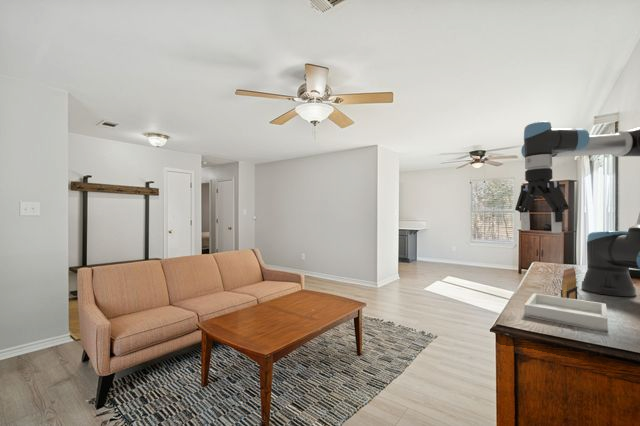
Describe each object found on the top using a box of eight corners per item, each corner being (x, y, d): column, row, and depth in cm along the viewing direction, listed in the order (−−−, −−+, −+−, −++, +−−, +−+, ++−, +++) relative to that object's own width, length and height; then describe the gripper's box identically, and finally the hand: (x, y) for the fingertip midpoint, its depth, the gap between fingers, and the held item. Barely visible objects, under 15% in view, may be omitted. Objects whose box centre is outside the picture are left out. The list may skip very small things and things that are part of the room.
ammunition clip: (567, 306, 100) (567, 270, 100) (560, 305, 102) (560, 269, 102) (577, 301, 107) (577, 267, 107) (570, 300, 108) (570, 266, 108)
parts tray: (533, 303, 104) (533, 293, 104) (605, 315, 91) (605, 303, 91) (524, 316, 90) (524, 304, 90) (607, 332, 78) (607, 318, 78)
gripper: (503, 174, 115) (505, 229, 115) (558, 162, 90) (560, 234, 90) (522, 173, 115) (524, 229, 115) (582, 162, 91) (584, 233, 90)
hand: (540, 231), depth 103 cm, fingers open, 13 cm apart
